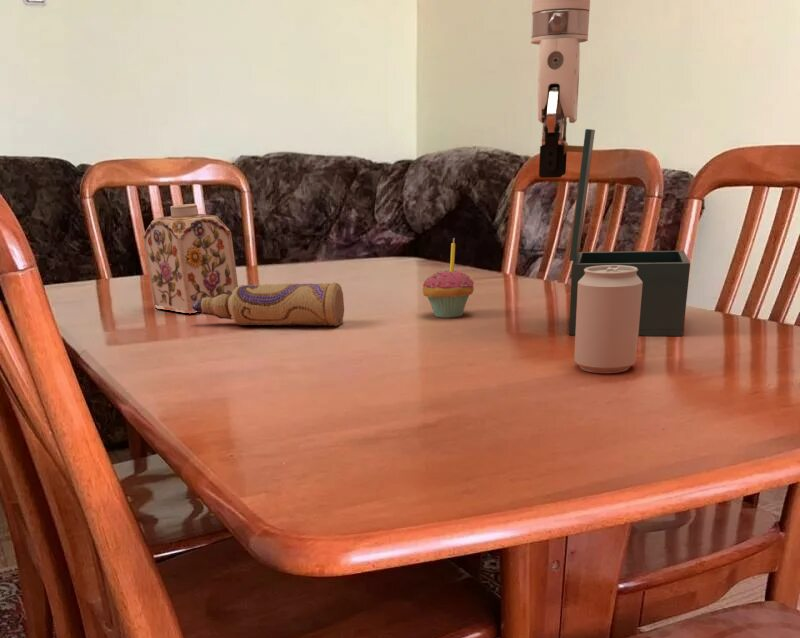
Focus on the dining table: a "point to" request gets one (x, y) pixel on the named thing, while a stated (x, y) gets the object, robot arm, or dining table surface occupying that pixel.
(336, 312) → the decorative bottle
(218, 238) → the decorative jar
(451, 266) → the cupcake
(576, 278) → the chest
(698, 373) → the dining table surface
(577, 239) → the lid
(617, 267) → the can
